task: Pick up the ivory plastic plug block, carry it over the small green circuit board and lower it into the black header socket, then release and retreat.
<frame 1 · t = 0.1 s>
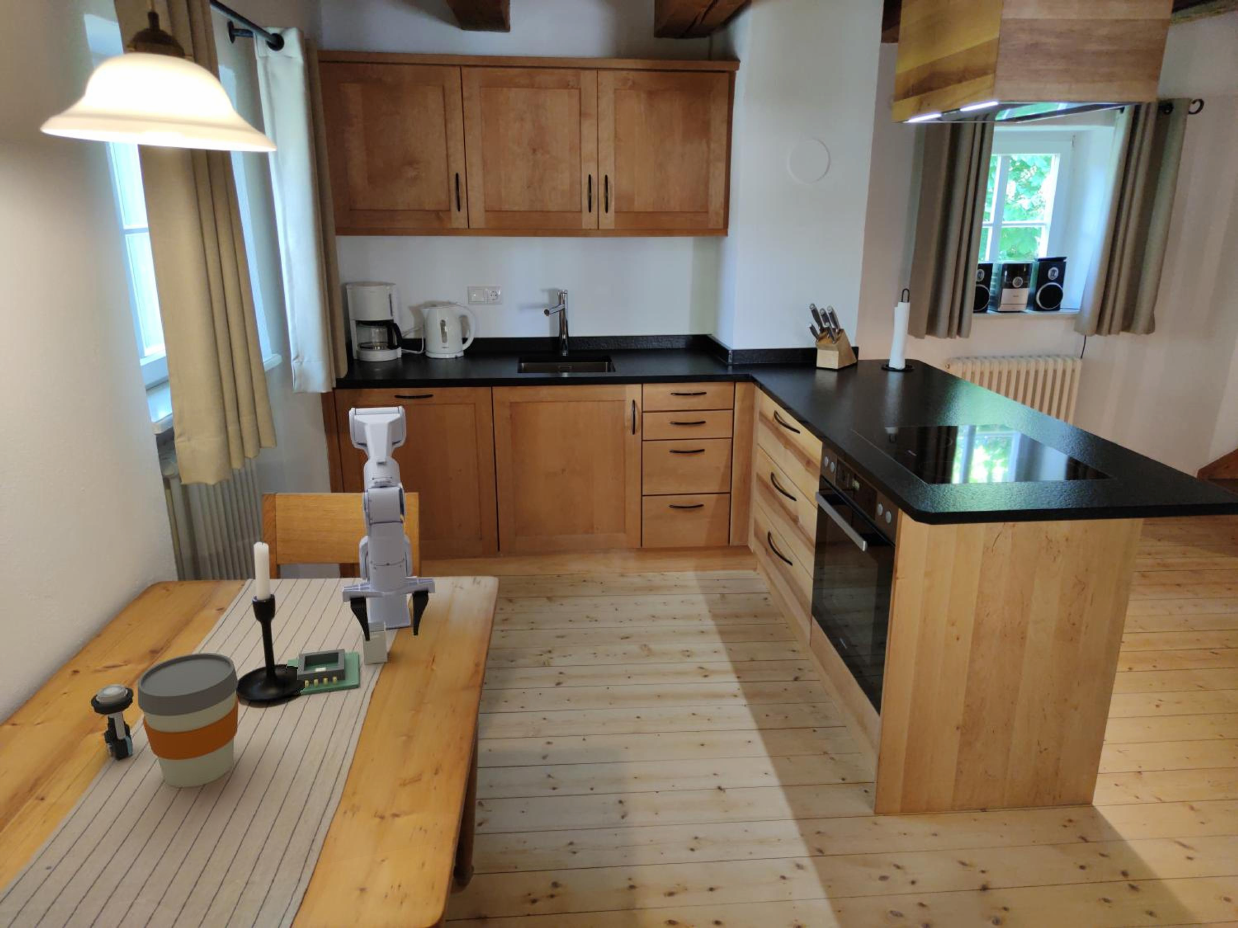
hand: (391, 635, 139), 10 cm above the table, fingers open, 7 cm apart
reusable coffee cup: (199, 768, 120), on the table
plug: (375, 657, 152), on the table
push button: (119, 750, 124), on the table
header socket: (322, 674, 146), on the table
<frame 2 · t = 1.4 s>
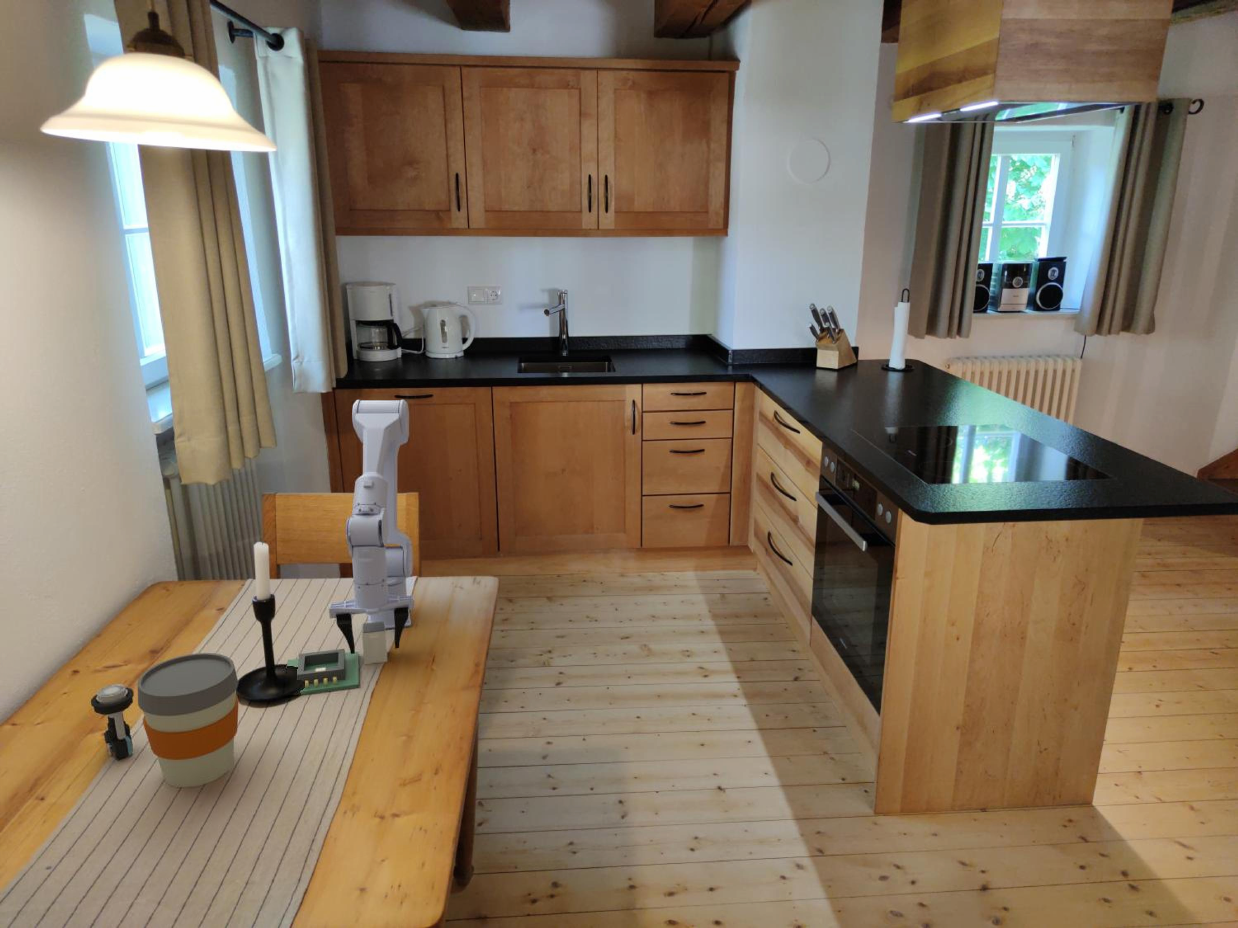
hand: (375, 648, 152), 2 cm above the table, fingers open, 7 cm apart
nothing on the table moved.
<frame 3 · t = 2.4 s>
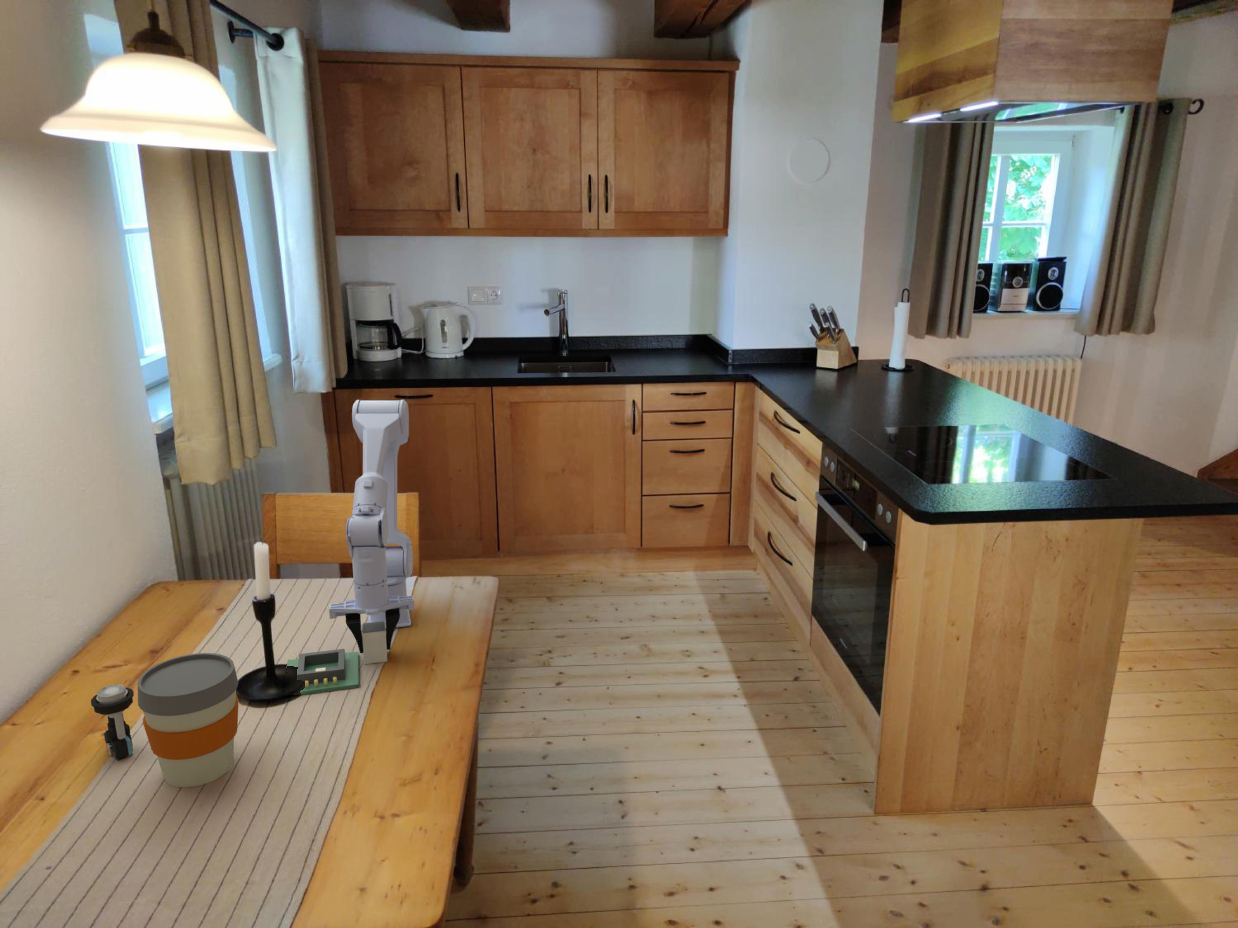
hand: (375, 648, 152), 2 cm above the table, fingers closed on plug, 4 cm apart
plug: (375, 657, 152), on the table, touching gripper
everything else where it was.
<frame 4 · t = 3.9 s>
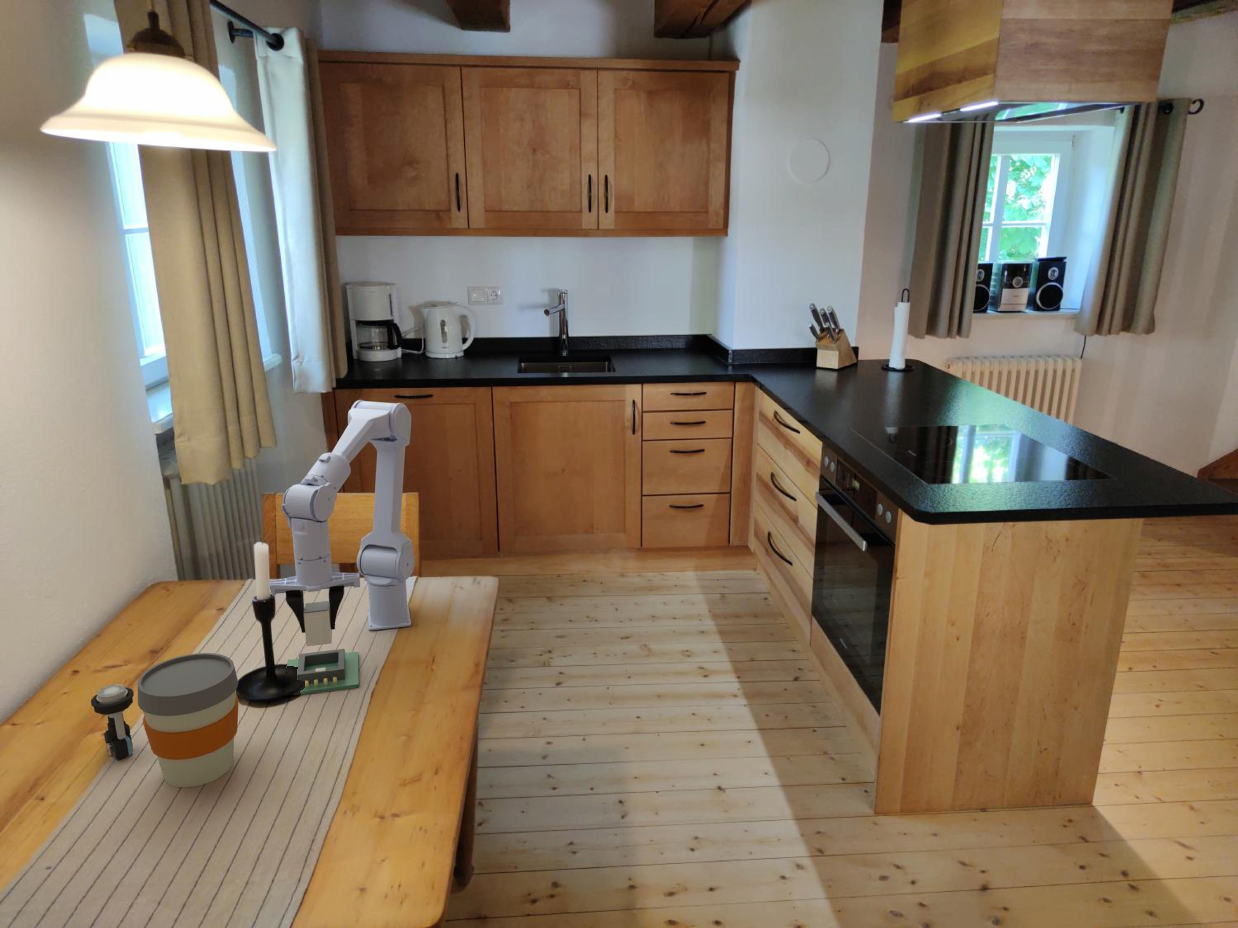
hand: (318, 628, 144), 9 cm above the table, fingers closed on plug, 4 cm apart
plug: (319, 639, 144), point 7 cm above the table, touching gripper
everything else where it was.
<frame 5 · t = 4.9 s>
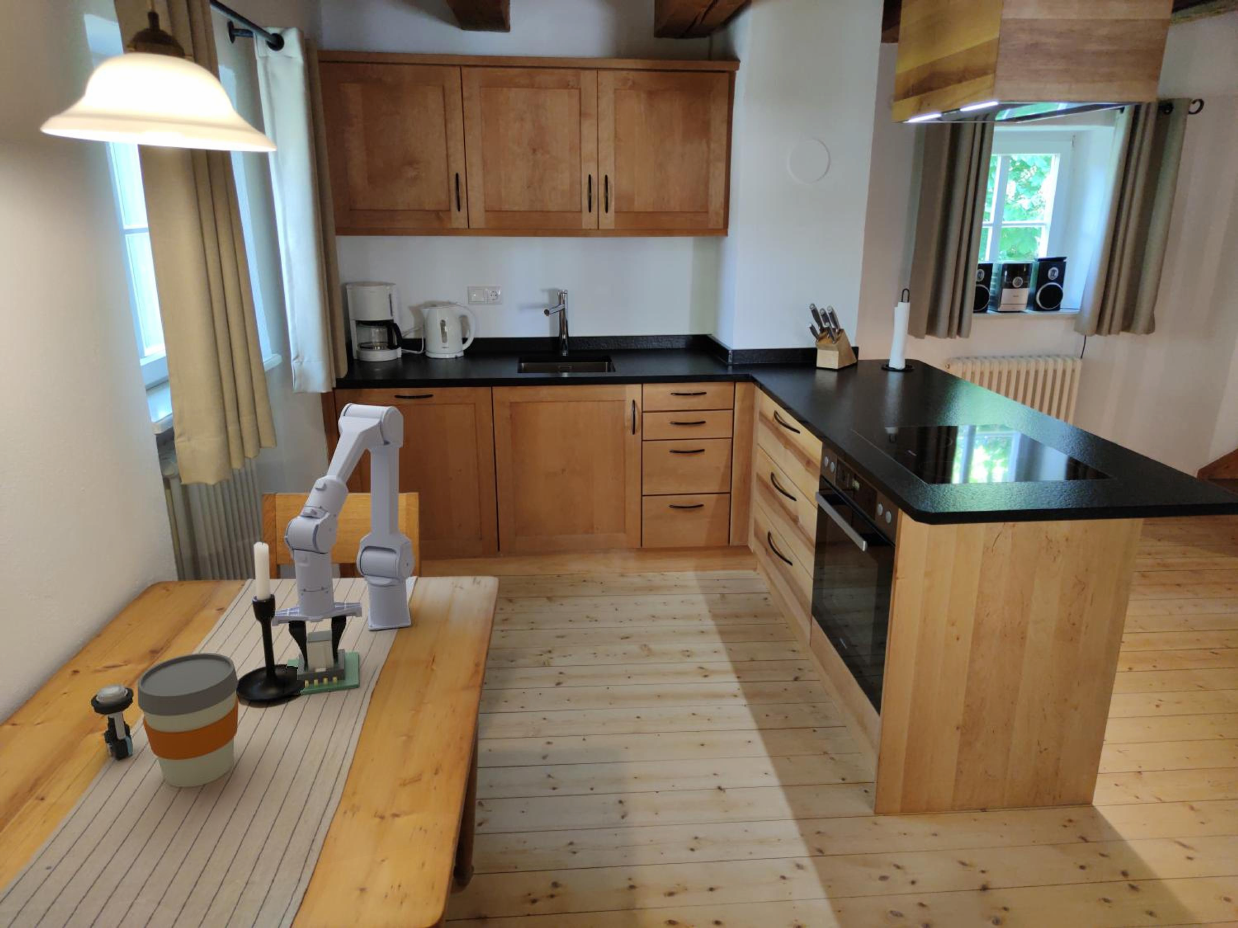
hand: (321, 657, 145), 3 cm above the table, fingers closed on plug, 4 cm apart
plug: (321, 668, 145), point 1 cm above the table, touching gripper
everything else where it was.
when the fingers open (3 cm above the table, at t = 5.5 s): plug stays where it is, resting on header socket.
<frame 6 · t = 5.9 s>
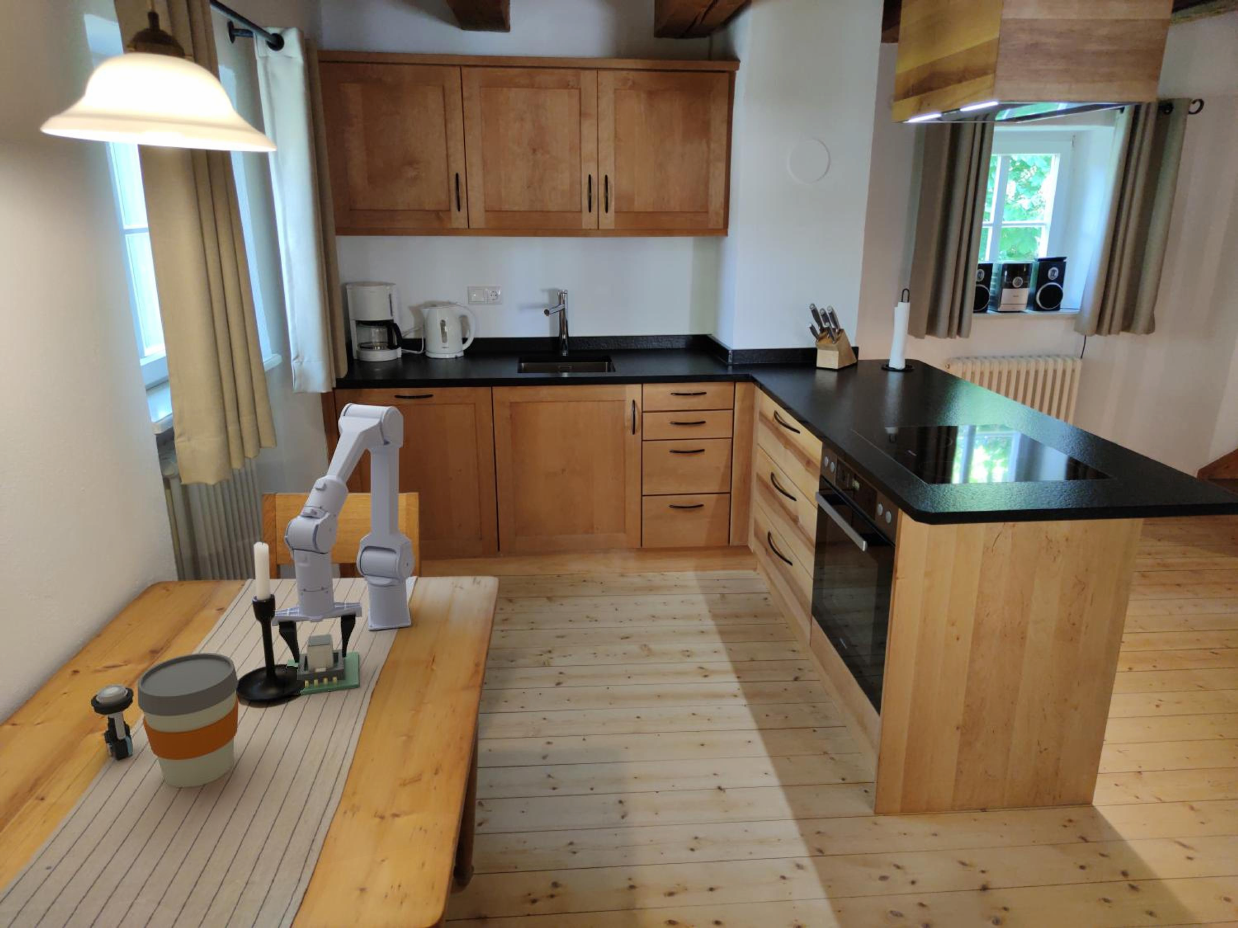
hand: (321, 657, 145), 3 cm above the table, fingers open, 7 cm apart
plug: (322, 672, 146), point 1 cm above the table, touching header socket
everything else where it was.
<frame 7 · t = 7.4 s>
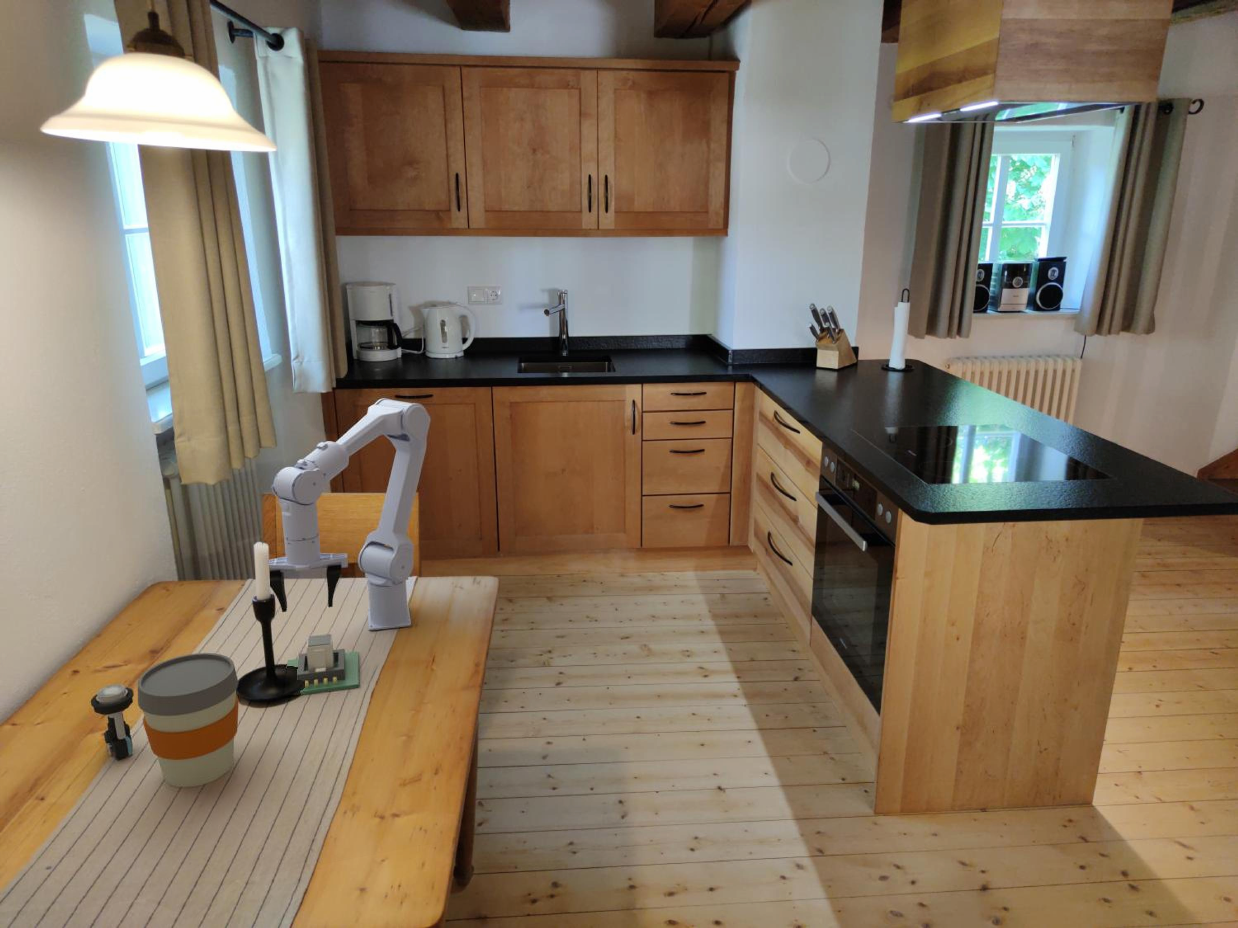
hand: (307, 607, 149), 10 cm above the table, fingers open, 7 cm apart
nothing on the table moved.
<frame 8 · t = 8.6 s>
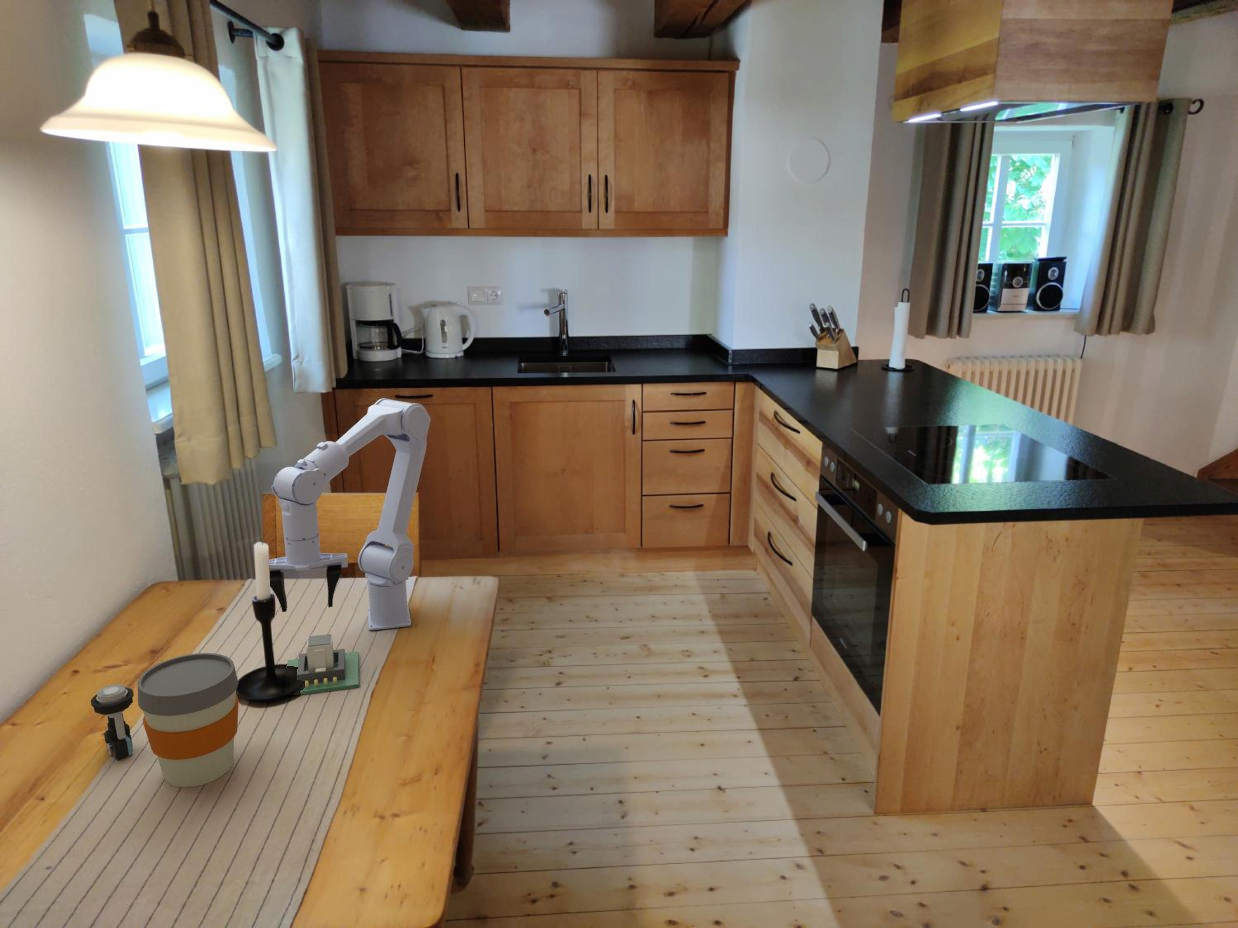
hand: (307, 607, 149), 10 cm above the table, fingers open, 7 cm apart
nothing on the table moved.
at the end: plug 0.2 cm off-centre on the header socket, point 0.6 cm above the header socket's base; plug tilted 0°; the gripper is holding nothing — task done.
